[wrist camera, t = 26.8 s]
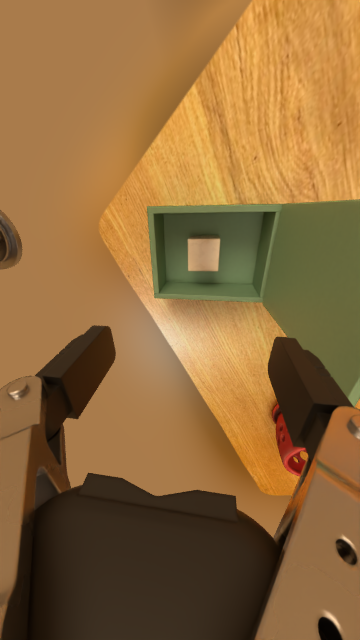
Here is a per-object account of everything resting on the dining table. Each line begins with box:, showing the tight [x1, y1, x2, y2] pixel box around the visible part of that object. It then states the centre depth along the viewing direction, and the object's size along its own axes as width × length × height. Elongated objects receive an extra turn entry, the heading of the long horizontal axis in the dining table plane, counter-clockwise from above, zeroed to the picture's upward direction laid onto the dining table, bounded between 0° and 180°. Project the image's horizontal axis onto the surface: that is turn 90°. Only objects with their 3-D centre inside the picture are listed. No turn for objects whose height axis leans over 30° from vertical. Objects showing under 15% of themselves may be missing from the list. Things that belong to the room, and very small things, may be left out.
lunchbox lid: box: [262, 199, 360, 407], centre depth 18 cm, size 17×13×5 cm
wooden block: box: [188, 235, 220, 271], centre depth 31 cm, size 4×4×4 cm
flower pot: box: [272, 404, 307, 476], centre depth 43 cm, size 13×13×12 cm
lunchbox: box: [147, 204, 283, 303], centre depth 30 cm, size 17×13×7 cm
